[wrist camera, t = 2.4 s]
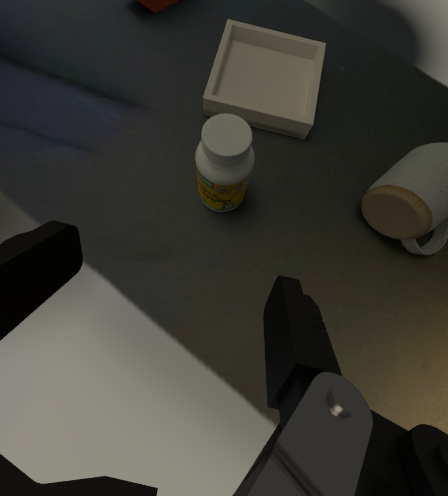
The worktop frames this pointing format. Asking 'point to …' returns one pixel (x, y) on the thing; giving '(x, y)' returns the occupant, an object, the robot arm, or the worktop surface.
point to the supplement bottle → (224, 161)
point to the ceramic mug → (412, 199)
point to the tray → (265, 79)
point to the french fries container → (157, 4)
